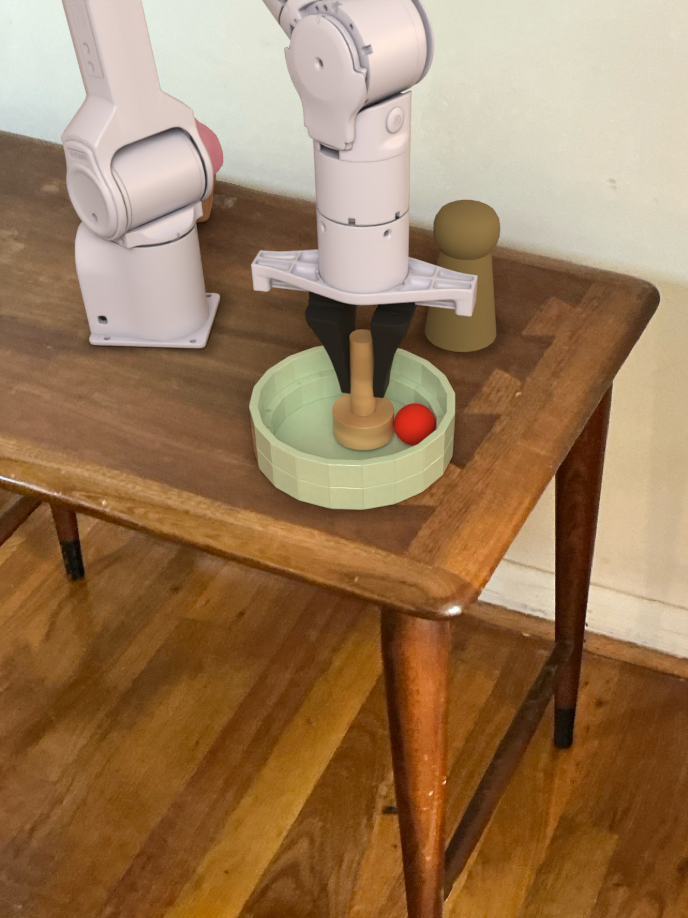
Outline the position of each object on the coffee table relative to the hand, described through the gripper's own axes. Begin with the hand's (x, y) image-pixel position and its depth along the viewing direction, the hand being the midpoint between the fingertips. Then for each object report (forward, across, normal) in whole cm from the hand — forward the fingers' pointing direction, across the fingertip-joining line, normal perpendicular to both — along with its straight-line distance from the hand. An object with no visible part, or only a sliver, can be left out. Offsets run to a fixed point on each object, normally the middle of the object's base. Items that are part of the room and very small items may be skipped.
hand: (365, 387), depth 72 cm
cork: (+5, -4, -16) cm, 17 cm away
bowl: (+5, +1, +2) cm, 5 cm away
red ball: (+2, -4, 0) cm, 4 cm away
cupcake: (+5, +25, -29) cm, 38 cm away
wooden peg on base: (+3, 0, +1) cm, 3 cm away
